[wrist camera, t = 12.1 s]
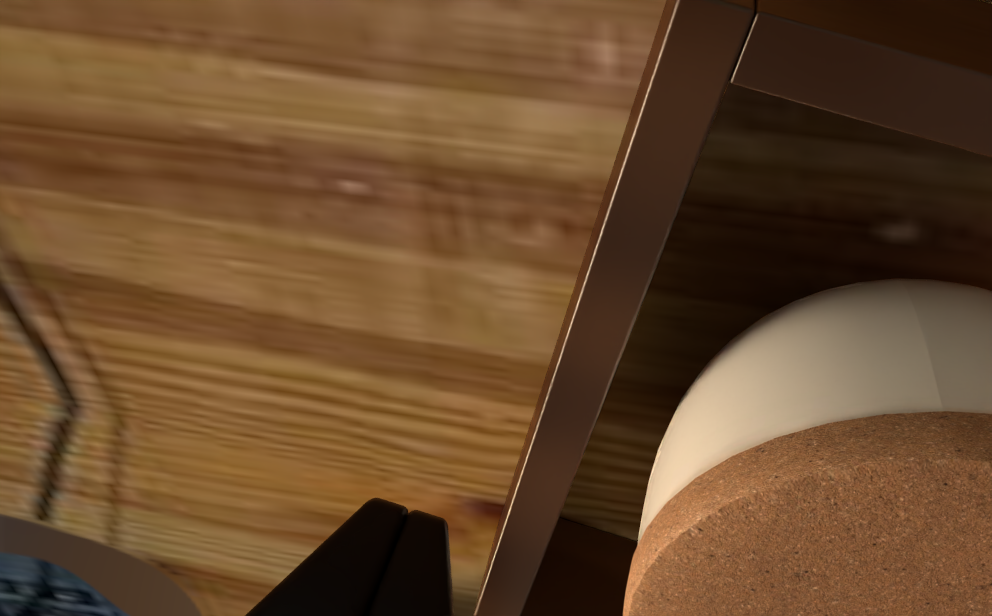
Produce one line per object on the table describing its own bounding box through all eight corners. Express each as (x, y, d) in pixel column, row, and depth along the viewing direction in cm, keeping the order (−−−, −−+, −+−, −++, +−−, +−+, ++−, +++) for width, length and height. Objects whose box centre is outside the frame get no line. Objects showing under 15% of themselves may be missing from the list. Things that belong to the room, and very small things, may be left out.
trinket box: (672, 524, 26) (643, 869, 19) (632, 206, 20) (567, 531, 13) (1091, 541, 23) (1252, 961, 16) (1191, 171, 17) (1525, 572, 10)
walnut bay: (846, 633, 27) (859, 761, 24) (498, 524, 28) (466, 635, 25) (1302, 87, 16) (1437, 199, 13) (691, -79, 16) (679, -11, 13)
